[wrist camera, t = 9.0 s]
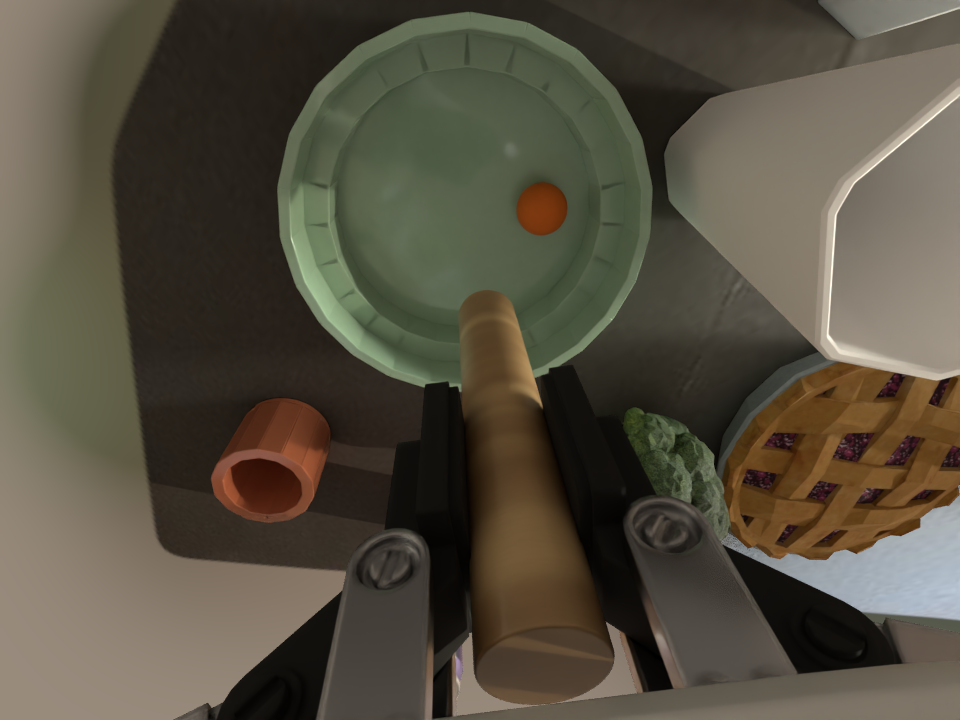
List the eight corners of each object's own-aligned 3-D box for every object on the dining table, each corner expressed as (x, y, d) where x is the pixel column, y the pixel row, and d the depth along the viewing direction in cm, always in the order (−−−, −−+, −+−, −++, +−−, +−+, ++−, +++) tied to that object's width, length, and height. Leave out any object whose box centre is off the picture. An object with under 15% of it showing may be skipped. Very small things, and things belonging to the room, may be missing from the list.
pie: (880, 527, 48) (923, 571, 44) (668, 526, 46) (690, 572, 42) (1015, 328, 38) (1089, 360, 33) (746, 316, 36) (788, 348, 31)
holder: (229, 404, 37) (193, 457, 31) (318, 392, 37) (297, 443, 31) (259, 470, 40) (231, 528, 35) (341, 458, 40) (325, 515, 35)
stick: (454, 293, 17) (464, 636, 6) (512, 285, 17) (616, 617, 6) (462, 344, 18) (482, 714, 7) (516, 337, 18) (614, 696, 7)
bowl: (262, 53, 26) (216, 46, 21) (620, 3, 26) (664, -16, 21) (351, 362, 36) (335, 410, 30) (613, 327, 35) (642, 369, 30)
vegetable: (522, 379, 35) (761, 421, 29) (555, 401, 46) (729, 434, 41) (486, 555, 33) (732, 633, 28) (529, 531, 45) (707, 582, 40)
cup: (755, 10, 26) (1151, -81, 12) (840, 148, 30) (1220, 212, 15) (598, 171, 30) (747, 259, 15) (692, 276, 34) (883, 428, 19)
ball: (511, 181, 29) (517, 191, 27) (560, 175, 29) (572, 184, 27) (515, 231, 31) (521, 244, 28) (562, 224, 31) (573, 237, 28)
